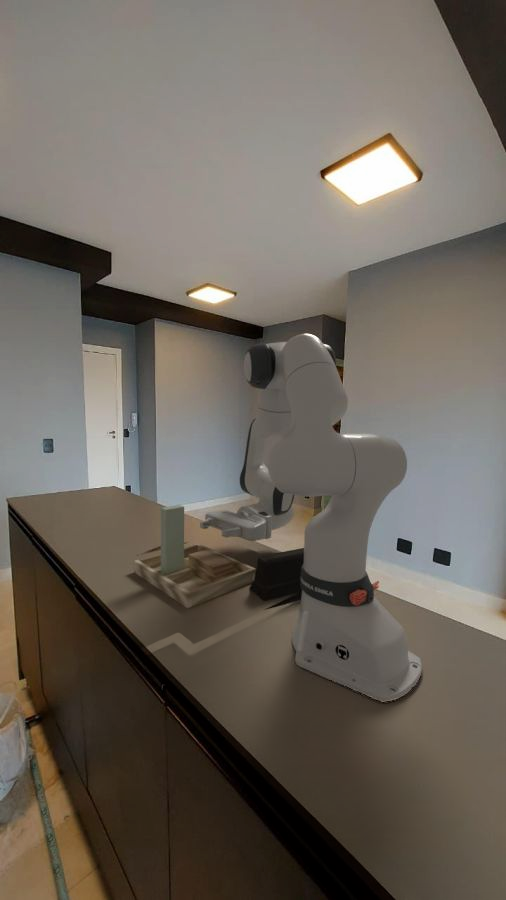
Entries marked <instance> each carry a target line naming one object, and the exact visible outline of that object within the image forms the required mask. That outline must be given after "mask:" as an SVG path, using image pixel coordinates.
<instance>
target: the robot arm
mask: <svg viewBox="0 0 506 900" xmlns="http://www.w3.org/2000/svg"><path fill="white" fill-rule="evenodd" d="M243 372H244V375H245V378H246V382H247V383H248V384H249V385H250V386H251V387H252V388H255V389H259V391H258V399H257V400H258V402H257V414H256V418H254V419H252V422H251V423H250V425H249V429H248V435H247V439H246V446H245V453H244V461H243V467H242V469H241V472H240V475H239V486H240V489H241V490H242V491H243V492H244V493H246V494H248V495H250V496H253V497H255V498H257V499H258V500H259V501H258V502H257V503H254V504H247V505H243V506H241V507H239V508H238V509H237V512H235V511H234V512H233V511H230V510H223V509H222V510H221V509H220V510H213V511H208V512H206V513H205V515H204V516H205V517H204V521H200V523H199V528H200V529H203V530H206V529H207V530H208V529H209V527H211V528H213V529H216V530H219V531H221V536H222V537H224V538H231V537H232V538H235V537H236V538H241V539H243V540H246V541H250V542H257V541H261V540H268V539H271V537H272V532H273V531H275V530H278V529H280V528H282V527H283V528H284V527H285V526H286V525H288V524H289V523H290V522H291V521H292V519H293V517H294V515H295V509H294V506H293V502H294V498H295V496H299V497H308V498H309V497H327V496H329V497H330V496H331V498H330V500H329V502H328V503H327V505H326V506H325V508H324V509H322V511H320V512H319V513H317V514H316V515H314V516H313V517H312V518H310V519H309V520H308V523H307V524H306V527H305V529H304V537H303V538H304V539H303V540H304V543H303V548H304V564H303V565H302V567H301V578H300V586H301V589H302V595H301V600H300V605H299V609H298V616H297V620H296V624H295V628H294V631H293V633H292V636H291V643H292V646H293V648H294V651H295V658H294V661H295V664H296V665H297V666H298V667H300V668H303V669H304V670H307V671H309V672H311V673H314V674H316V675H318V676H320V677H323V678H325V679H326V680H330V681H331V680H332V682H334V683H336V682H337V683H336V684H338V683H340V684H342V685H344V686H343V687H345V686H347V687H349V688H352V689H355V690H357V691H359V692H361V693H364V694H366V695H369V696H372V697H373V698H376V699H378V700H382V701H386V700H390V699H394V698H397V697H400V696H401V695H403V694H405V693H406V692H408V691H409V690H411V688H412V687H414V686H415V685H416V686H417V684H418V683H419V682H418V680H419V678H420V676H421V677H422V674H421V673H423V668H422V667H423V666H422V665H423V664H422V660H421V658H420V657H419V656H417V655H416V654H414V653H413V652H411V651H409V646H408V639H407V635H406V631H405V630H404V628H403V626H402V625H401V624H400V623H399V622H398V621H397V620H396V619H395V618H394V617H393V616H392V615H391V613H390V612H389V611H388V610H387V608H385V607H384V605H383V604H381V602H380V601H379V600H378V599H377V598H376V597H375V593H374V592H375V591H376V590H377V589H378V588H379V587H380V586H379V583H380V581H379V580H377V581H375V582H373V583H372V582H371V581H370V578H369V574H368V572H367V571H366V570H367V569H366V568H367V555H368V545H369V536H370V530H371V527H372V525H373V521H374V519H375V518H376V517H375V516H376V515H377V513H378V510H379V509H380V507H381V505H382V504H383V502H384V500H386V499H387V497H388V496H389V494H390V493H392V492H393V491H394V489H396V488H397V487H398V486H400V485H401V483H402V482H403V480H404V479H405V476H406V474H407V470H408V459H407V454H406V452H405V450H404V448H403V446H402V445H401V443H400V442H398V441H397V440H395V439H394V438H390V437H387V436H383V435H378V434H374V433H341V432H337V431H336V430H335V429H334V427H333V426H334V425H335V424H337V423H339V422H340V420H342V419H343V417H344V416H345V414H346V412H347V410H348V405H349V398H348V395H347V392H346V390H345V387H344V384H343V382H342V379H341V377H340V374H339V371H338V368H337V357H336V354H335V352H334V350H333V348H332V347H331V346H330V345H328V344H326V343H325V344H324V343H323V341H322V340H321V339H320V338H319V337H317V336H316V335H313V334H312V333H311V334H310V333H301V334H298V335H294V336H292V337H290V339H289V340H287V341H279V342H270V343H264V342H261V343H256V344H253V345H251V346H250V347H249V348H248V349H247V350H246V352H245V357H244V361H243ZM277 438H278V439H277ZM269 439H270V440H271V439H277V441H275V443H274V444H273V446H272V447H271V449H270V450H269V454H268V459H267V466H266V465H265V463H264V459H265V451H266V445H267V442H268V440H269ZM420 679H421V678H420ZM419 681H420V680H419ZM417 682H418V683H417ZM416 683H417V684H416ZM340 684H339V685H340ZM342 685H341V686H342ZM416 686H415V687H416ZM347 687H346V688H347ZM415 687H414V688H415ZM349 688H348V689H349ZM391 690H392V691H394V692H392V691H391ZM411 691H412V690H411Z"/></svg>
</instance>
